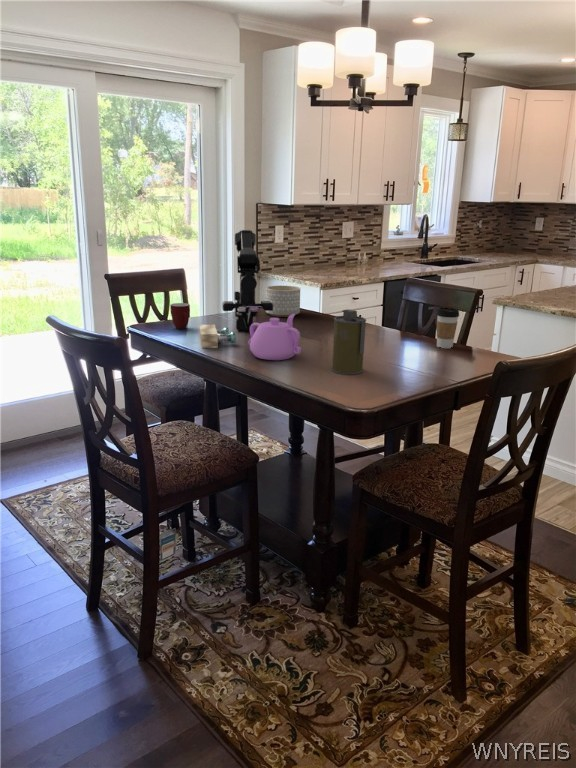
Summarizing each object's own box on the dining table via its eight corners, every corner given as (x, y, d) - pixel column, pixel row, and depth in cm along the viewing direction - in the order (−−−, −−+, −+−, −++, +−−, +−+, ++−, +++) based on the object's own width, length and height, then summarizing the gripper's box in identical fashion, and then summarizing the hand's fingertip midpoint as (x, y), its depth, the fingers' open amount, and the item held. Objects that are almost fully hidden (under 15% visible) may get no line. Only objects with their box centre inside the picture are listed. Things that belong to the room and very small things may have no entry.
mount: (214, 337, 241) (214, 324, 239) (217, 347, 225) (217, 334, 223) (199, 337, 240) (199, 324, 238) (201, 348, 224) (201, 334, 222)
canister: (325, 369, 200) (327, 310, 194) (345, 364, 207) (348, 306, 201) (350, 376, 193) (353, 315, 187) (370, 371, 200) (374, 311, 194)
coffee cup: (437, 343, 240) (441, 305, 235) (458, 346, 236) (462, 308, 231) (430, 347, 233) (434, 308, 228) (452, 350, 229) (456, 311, 224)
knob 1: (227, 337, 239) (227, 326, 238) (228, 339, 235) (228, 329, 234) (207, 337, 238) (207, 327, 237) (208, 340, 234) (207, 329, 233)
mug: (197, 329, 254) (196, 305, 251) (180, 331, 249) (180, 308, 246) (183, 325, 261) (183, 302, 258) (167, 327, 256) (166, 304, 253)
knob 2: (234, 341, 232) (234, 331, 231) (235, 344, 228) (235, 333, 227) (208, 342, 230) (208, 331, 229) (209, 345, 226) (209, 334, 225)
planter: (284, 310, 301) (285, 284, 297) (306, 315, 289) (307, 288, 285) (258, 313, 291) (258, 287, 287) (280, 319, 279) (280, 291, 275)
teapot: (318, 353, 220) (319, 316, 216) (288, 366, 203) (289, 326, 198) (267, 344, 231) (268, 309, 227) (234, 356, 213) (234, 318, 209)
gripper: (269, 284, 234) (268, 323, 239) (220, 284, 230) (221, 324, 235) (273, 288, 223) (273, 329, 228) (223, 288, 220) (223, 330, 225)
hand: (247, 328), depth 229 cm, fingers closed
